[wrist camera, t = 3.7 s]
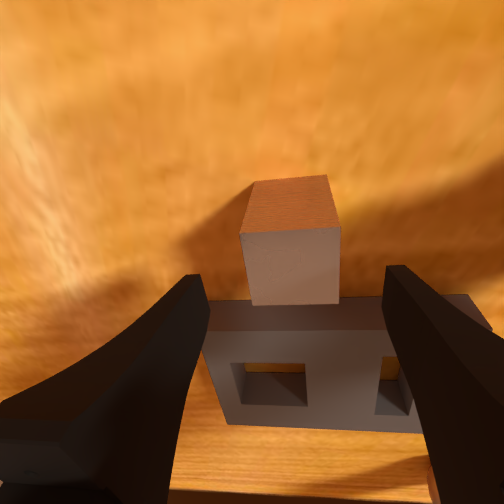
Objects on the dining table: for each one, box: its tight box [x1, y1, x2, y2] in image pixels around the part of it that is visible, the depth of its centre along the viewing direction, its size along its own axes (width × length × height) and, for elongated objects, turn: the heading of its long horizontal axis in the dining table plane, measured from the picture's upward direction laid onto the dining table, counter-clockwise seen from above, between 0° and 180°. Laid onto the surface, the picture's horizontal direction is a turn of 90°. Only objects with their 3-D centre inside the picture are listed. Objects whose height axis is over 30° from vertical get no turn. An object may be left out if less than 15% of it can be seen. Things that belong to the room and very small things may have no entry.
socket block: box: [201, 294, 493, 434], centre depth 23 cm, size 18×12×3 cm, turn 98°
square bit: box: [239, 175, 341, 306], centre depth 15 cm, size 4×4×6 cm
